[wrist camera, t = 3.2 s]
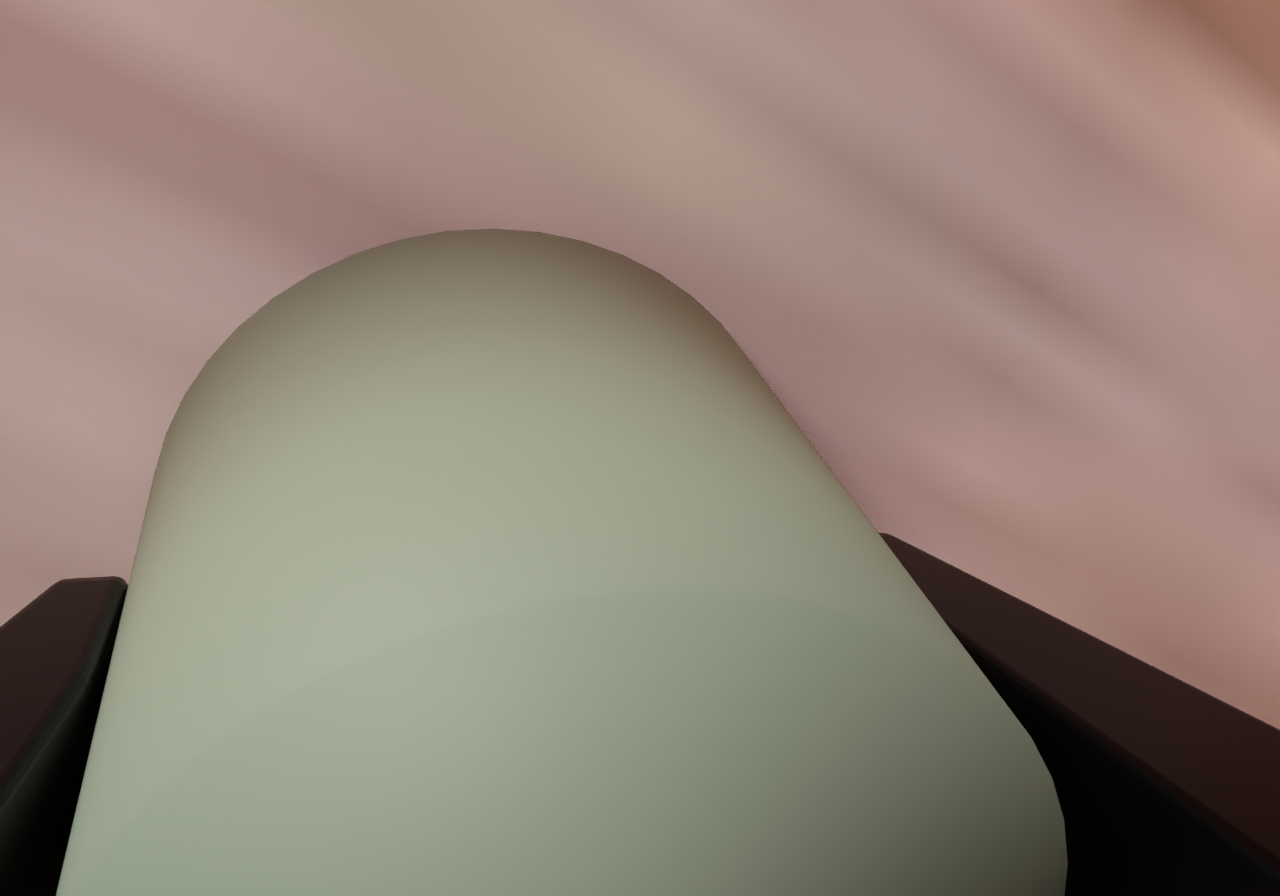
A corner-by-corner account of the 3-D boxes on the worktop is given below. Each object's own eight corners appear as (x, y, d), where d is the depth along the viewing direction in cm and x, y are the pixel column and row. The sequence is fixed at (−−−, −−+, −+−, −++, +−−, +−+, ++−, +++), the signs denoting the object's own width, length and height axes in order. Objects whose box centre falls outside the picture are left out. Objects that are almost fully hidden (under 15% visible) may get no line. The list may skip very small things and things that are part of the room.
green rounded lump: (822, 230, 9) (1186, 557, 5) (743, 742, 12) (957, 1225, 8) (111, 225, 8) (-79, 635, 4) (182, 796, 10) (103, 1400, 6)
